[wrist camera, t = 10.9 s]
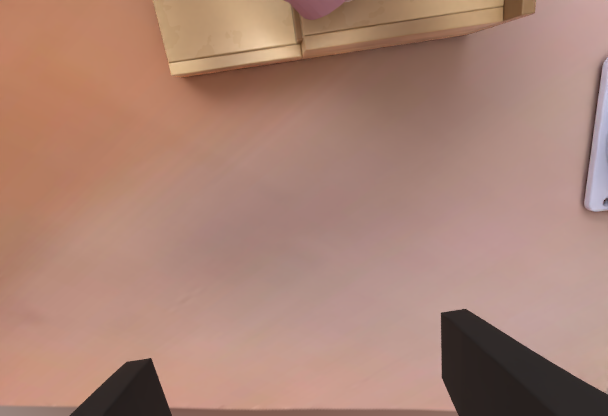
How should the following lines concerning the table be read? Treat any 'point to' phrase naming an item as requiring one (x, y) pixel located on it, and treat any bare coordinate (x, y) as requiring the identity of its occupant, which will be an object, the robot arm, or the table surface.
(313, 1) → the video game controller
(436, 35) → the step shelf
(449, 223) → the table surface
